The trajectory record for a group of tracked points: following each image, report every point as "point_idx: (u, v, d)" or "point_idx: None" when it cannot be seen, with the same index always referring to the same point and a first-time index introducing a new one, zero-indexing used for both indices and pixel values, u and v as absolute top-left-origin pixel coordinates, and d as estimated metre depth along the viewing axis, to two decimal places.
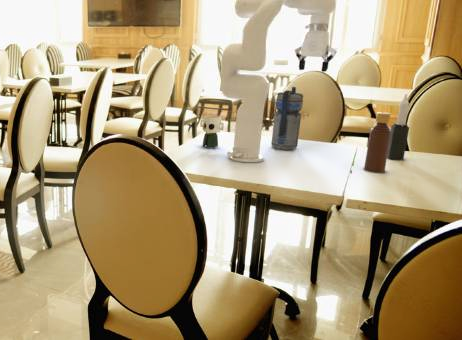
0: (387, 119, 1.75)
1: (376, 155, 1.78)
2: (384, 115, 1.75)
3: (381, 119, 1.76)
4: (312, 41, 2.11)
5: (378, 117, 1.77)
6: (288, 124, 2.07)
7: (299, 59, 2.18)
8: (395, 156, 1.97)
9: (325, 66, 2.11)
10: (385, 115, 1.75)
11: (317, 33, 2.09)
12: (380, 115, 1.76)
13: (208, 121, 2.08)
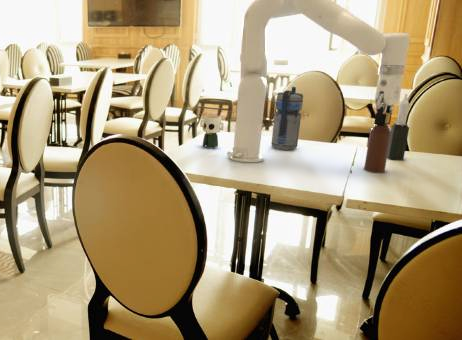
0: (387, 119, 1.75)
1: (376, 155, 1.78)
2: None
3: None
4: (397, 86, 1.72)
5: None
6: (288, 124, 2.07)
7: (384, 113, 1.74)
8: (395, 156, 1.97)
9: None
10: None
11: (400, 77, 1.72)
12: None
13: (208, 121, 2.08)
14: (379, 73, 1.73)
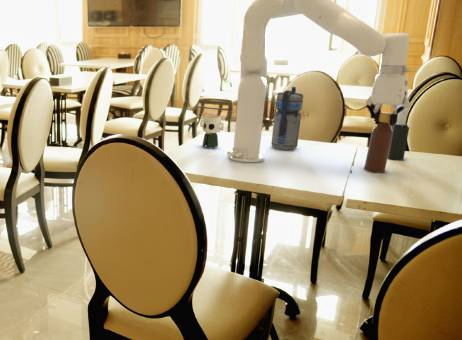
0: None
1: (377, 154, 1.78)
2: None
3: None
4: None
5: None
6: (288, 124, 2.07)
7: None
8: (395, 156, 1.97)
9: None
10: None
11: None
12: None
13: (208, 121, 2.08)
14: (397, 74, 1.69)
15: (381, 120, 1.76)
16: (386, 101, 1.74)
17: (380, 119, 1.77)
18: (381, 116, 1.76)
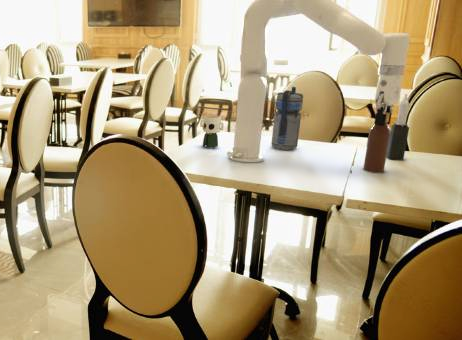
0: None
1: (376, 155, 1.78)
2: (389, 114, 1.76)
3: (388, 119, 1.76)
4: (397, 86, 1.72)
5: (386, 117, 1.75)
6: (288, 124, 2.07)
7: (384, 113, 1.74)
8: (395, 156, 1.97)
9: None
10: None
11: (400, 77, 1.72)
12: (388, 115, 1.75)
13: (208, 121, 2.08)
14: (379, 73, 1.73)
15: None
16: None
17: None
18: None
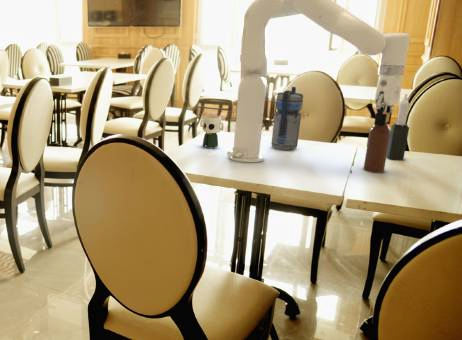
0: None
1: (376, 155, 1.78)
2: None
3: None
4: (397, 86, 1.72)
5: None
6: (288, 124, 2.07)
7: (384, 113, 1.74)
8: (395, 156, 1.97)
9: None
10: None
11: (400, 77, 1.72)
12: None
13: (208, 121, 2.08)
14: (379, 73, 1.73)
15: (387, 120, 1.76)
16: None
17: (386, 120, 1.75)
18: (387, 117, 1.75)
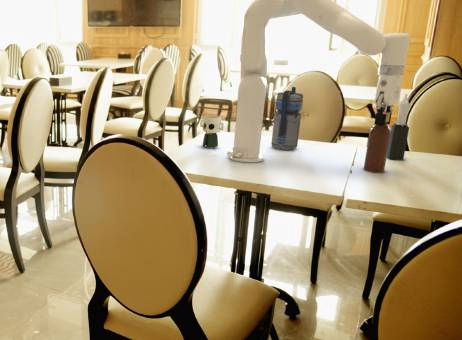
0: None
1: (376, 155, 1.78)
2: None
3: None
4: (397, 86, 1.72)
5: None
6: (288, 124, 2.07)
7: (384, 113, 1.74)
8: (395, 156, 1.97)
9: None
10: None
11: (400, 77, 1.72)
12: None
13: (208, 121, 2.08)
14: (379, 73, 1.73)
15: None
16: None
17: None
18: None
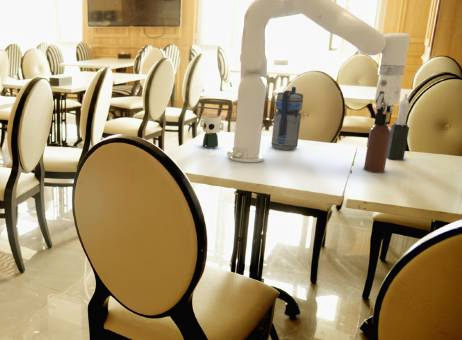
0: (387, 118, 1.75)
1: (377, 155, 1.78)
2: None
3: None
4: (397, 86, 1.72)
5: None
6: (288, 124, 2.07)
7: (384, 113, 1.74)
8: (395, 156, 1.97)
9: None
10: None
11: (400, 77, 1.72)
12: None
13: (208, 121, 2.08)
14: (379, 73, 1.73)
15: None
16: None
17: None
18: None
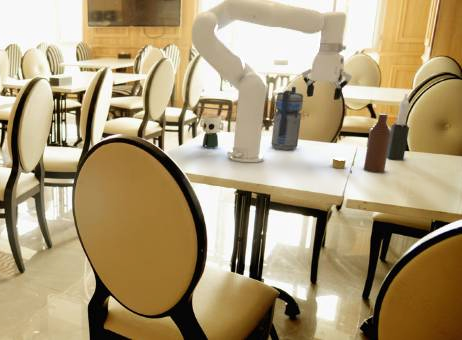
0: None
1: (377, 155, 1.78)
2: None
3: (344, 165, 1.84)
4: None
5: (342, 164, 1.83)
6: (288, 124, 2.07)
7: (342, 87, 1.79)
8: (395, 156, 1.97)
9: None
10: None
11: None
12: (344, 161, 1.83)
13: (208, 121, 2.08)
14: (333, 52, 1.76)
15: (334, 166, 1.85)
16: (323, 78, 1.80)
17: (333, 165, 1.85)
18: (334, 162, 1.85)
